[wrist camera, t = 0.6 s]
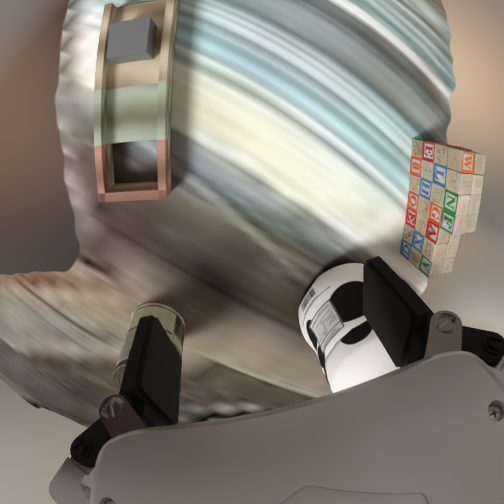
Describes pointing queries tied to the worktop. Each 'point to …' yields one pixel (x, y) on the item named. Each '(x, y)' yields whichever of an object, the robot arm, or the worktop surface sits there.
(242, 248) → the worktop surface
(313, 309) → the milk container
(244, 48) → the worktop surface
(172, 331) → the coffee can
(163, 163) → the lane
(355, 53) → the worktop surface
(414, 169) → the stack of blocks
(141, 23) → the block
